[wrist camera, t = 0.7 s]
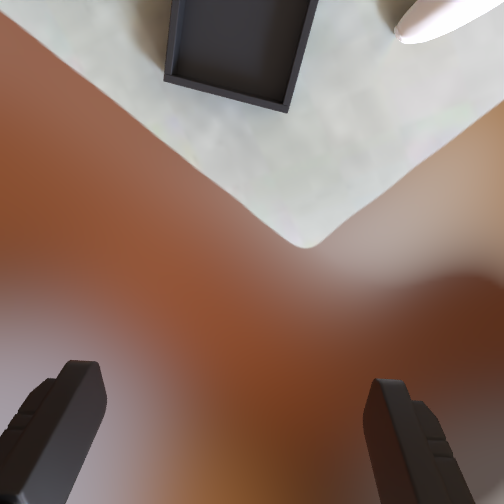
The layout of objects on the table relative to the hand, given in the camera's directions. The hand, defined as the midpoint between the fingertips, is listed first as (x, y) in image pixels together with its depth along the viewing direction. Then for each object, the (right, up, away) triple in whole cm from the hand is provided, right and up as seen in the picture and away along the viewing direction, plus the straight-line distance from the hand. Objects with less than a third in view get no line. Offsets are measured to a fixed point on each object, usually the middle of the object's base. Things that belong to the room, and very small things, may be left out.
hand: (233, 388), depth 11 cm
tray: (0, +25, +18) cm, 30 cm away
